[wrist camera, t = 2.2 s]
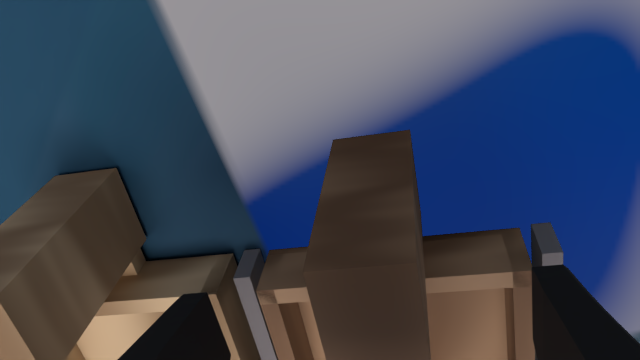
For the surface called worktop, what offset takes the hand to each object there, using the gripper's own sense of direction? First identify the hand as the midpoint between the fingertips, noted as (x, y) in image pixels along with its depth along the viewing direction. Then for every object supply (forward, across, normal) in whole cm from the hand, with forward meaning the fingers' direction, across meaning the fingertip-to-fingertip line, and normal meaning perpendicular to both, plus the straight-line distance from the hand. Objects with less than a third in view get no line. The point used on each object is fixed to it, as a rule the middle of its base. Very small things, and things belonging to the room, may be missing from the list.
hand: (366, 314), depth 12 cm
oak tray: (+6, +10, +8) cm, 14 cm away
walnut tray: (+6, 0, +8) cm, 10 cm away
